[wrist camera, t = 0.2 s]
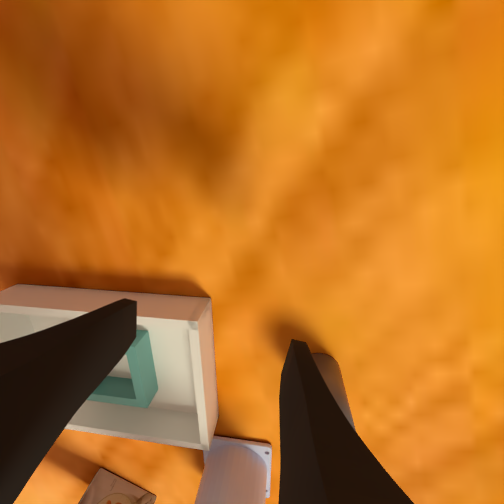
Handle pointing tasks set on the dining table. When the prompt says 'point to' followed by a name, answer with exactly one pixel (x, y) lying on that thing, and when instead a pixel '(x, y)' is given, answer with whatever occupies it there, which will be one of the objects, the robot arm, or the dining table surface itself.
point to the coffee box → (114, 491)
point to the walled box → (135, 362)
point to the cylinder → (334, 382)
